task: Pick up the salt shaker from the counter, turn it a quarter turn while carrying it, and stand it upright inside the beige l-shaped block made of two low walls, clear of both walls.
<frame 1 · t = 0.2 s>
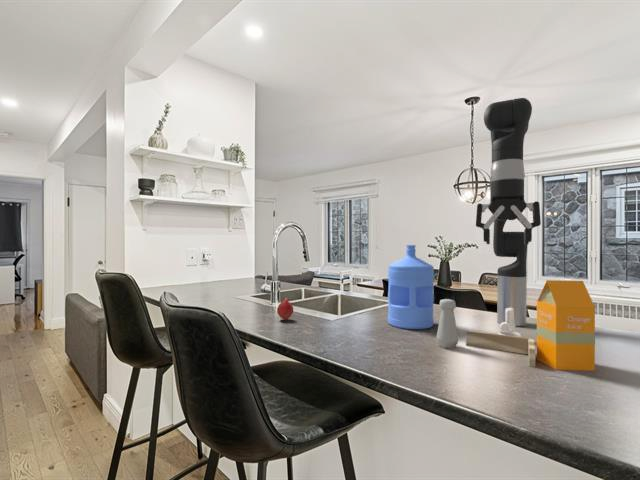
hand: (506, 244, 88), 29 cm above the countertop, tool pointing down, fingers open, 8 cm apart
orange juice: (564, 365, 84), on the countertop
water jug: (410, 325, 123), on the countertop
beige l-shaped block: (499, 355, 90), on the countertop
salt shaker: (447, 347, 97), on the countertop
onion: (285, 320, 128), on the countertop
hook: (510, 339, 106), on the countertop
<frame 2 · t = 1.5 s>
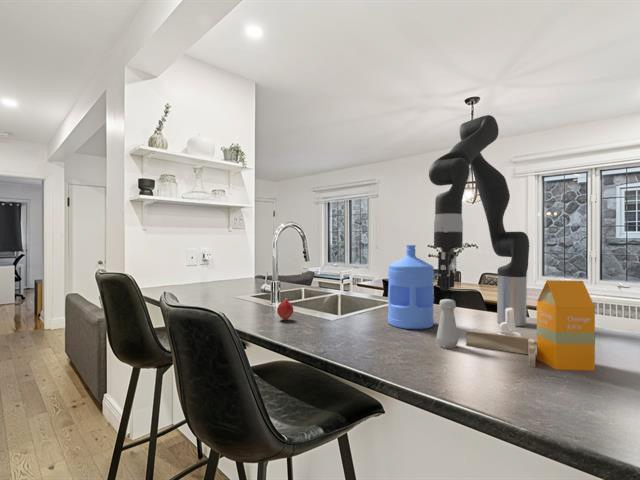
hand: (447, 289, 97), 16 cm above the countertop, tool pointing down, fingers open, 8 cm apart
nothing on the countertop moved.
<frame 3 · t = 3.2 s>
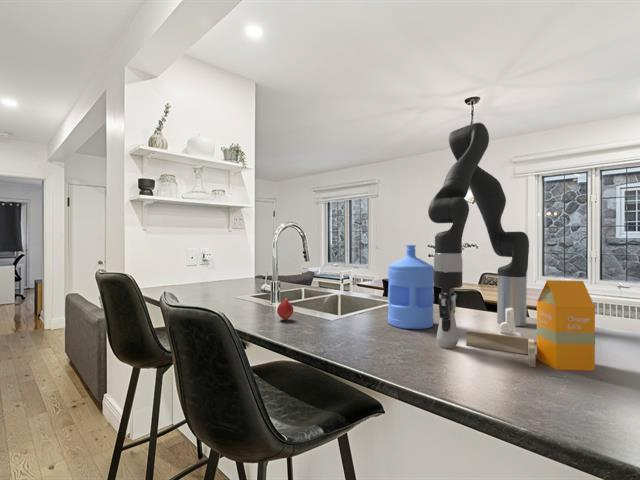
hand: (447, 331, 97), 4 cm above the countertop, tool pointing down, fingers closed on salt shaker, 3 cm apart
salt shaker: (447, 347, 97), on the countertop, touching gripper
everything else where it was.
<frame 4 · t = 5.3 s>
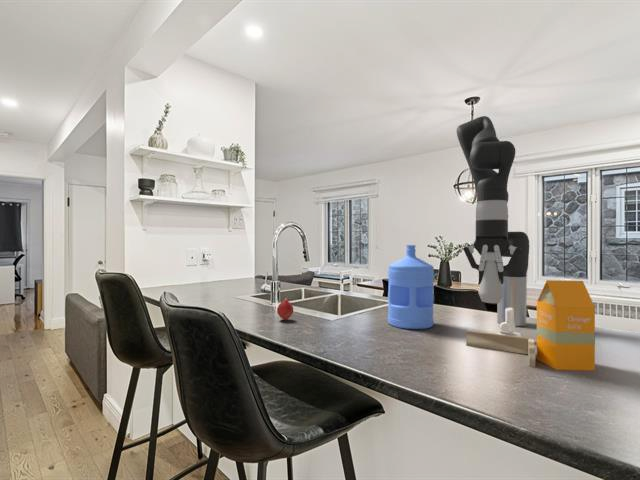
hand: (491, 285, 90), 18 cm above the countertop, tool pointing down, fingers closed on salt shaker, 3 cm apart
salt shaker: (490, 302, 90), point 13 cm above the countertop, touching gripper
everything else where it was.
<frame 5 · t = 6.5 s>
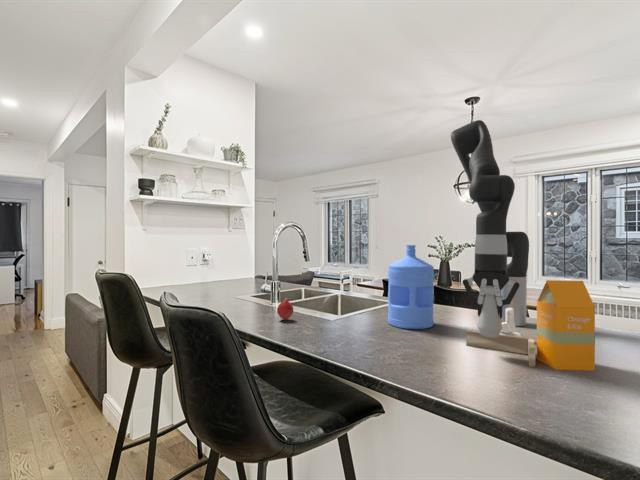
hand: (490, 319, 90), 9 cm above the countertop, tool pointing down, fingers closed on salt shaker, 3 cm apart
salt shaker: (489, 336, 90), point 5 cm above the countertop, touching gripper
everything else where it was.
when the fingers open (6 cm above the countertop, at t = 7.4 s): salt shaker drops 1 cm, on the countertop.
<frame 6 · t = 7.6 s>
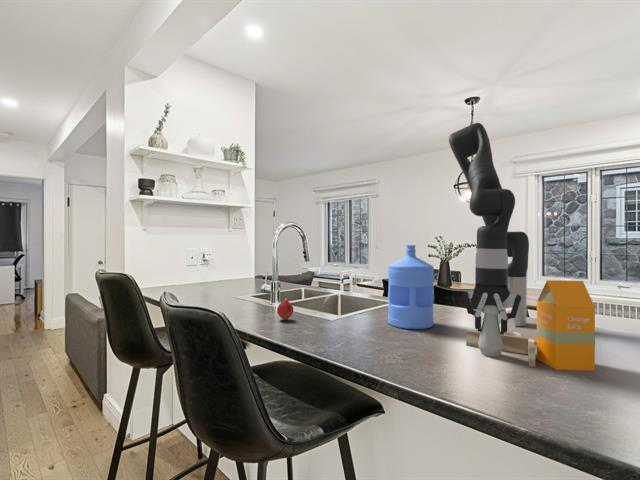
hand: (490, 332, 90), 6 cm above the countertop, tool pointing down, fingers open, 4 cm apart
salt shaker: (490, 355, 90), on the countertop
everything else where it was.
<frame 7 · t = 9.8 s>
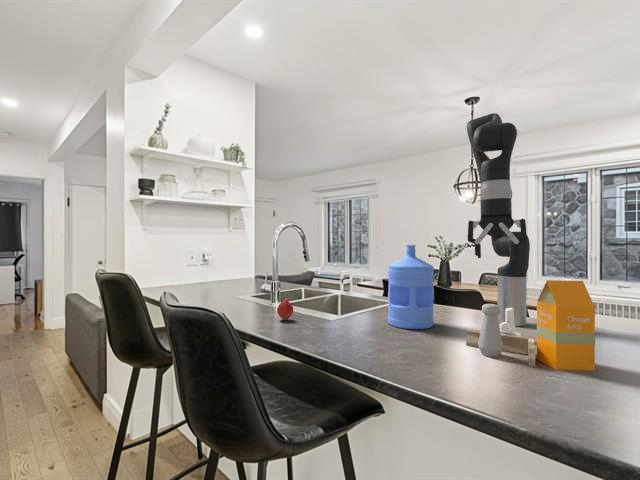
hand: (496, 258, 95), 25 cm above the countertop, tool pointing down, fingers open, 8 cm apart
nothing on the countertop moved.
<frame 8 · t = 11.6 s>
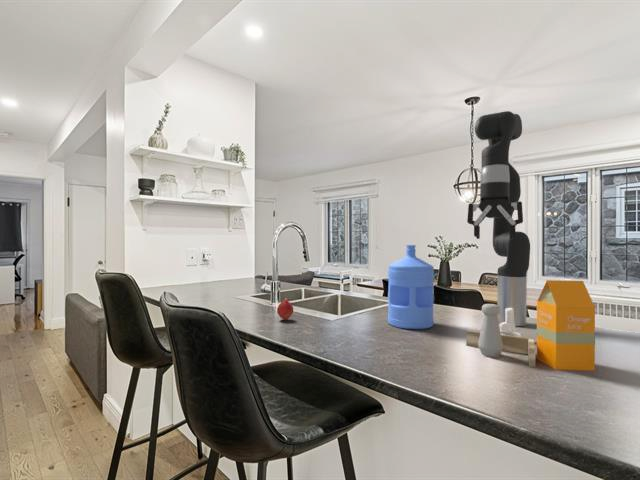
hand: (494, 238, 101), 30 cm above the countertop, tool pointing down, fingers open, 8 cm apart
nothing on the countertop moved.
at the end: salt shaker inside the target area (0.9 cm from its centre), on the countertop; salt shaker tilted 0°; salt shaker touching countertop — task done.
